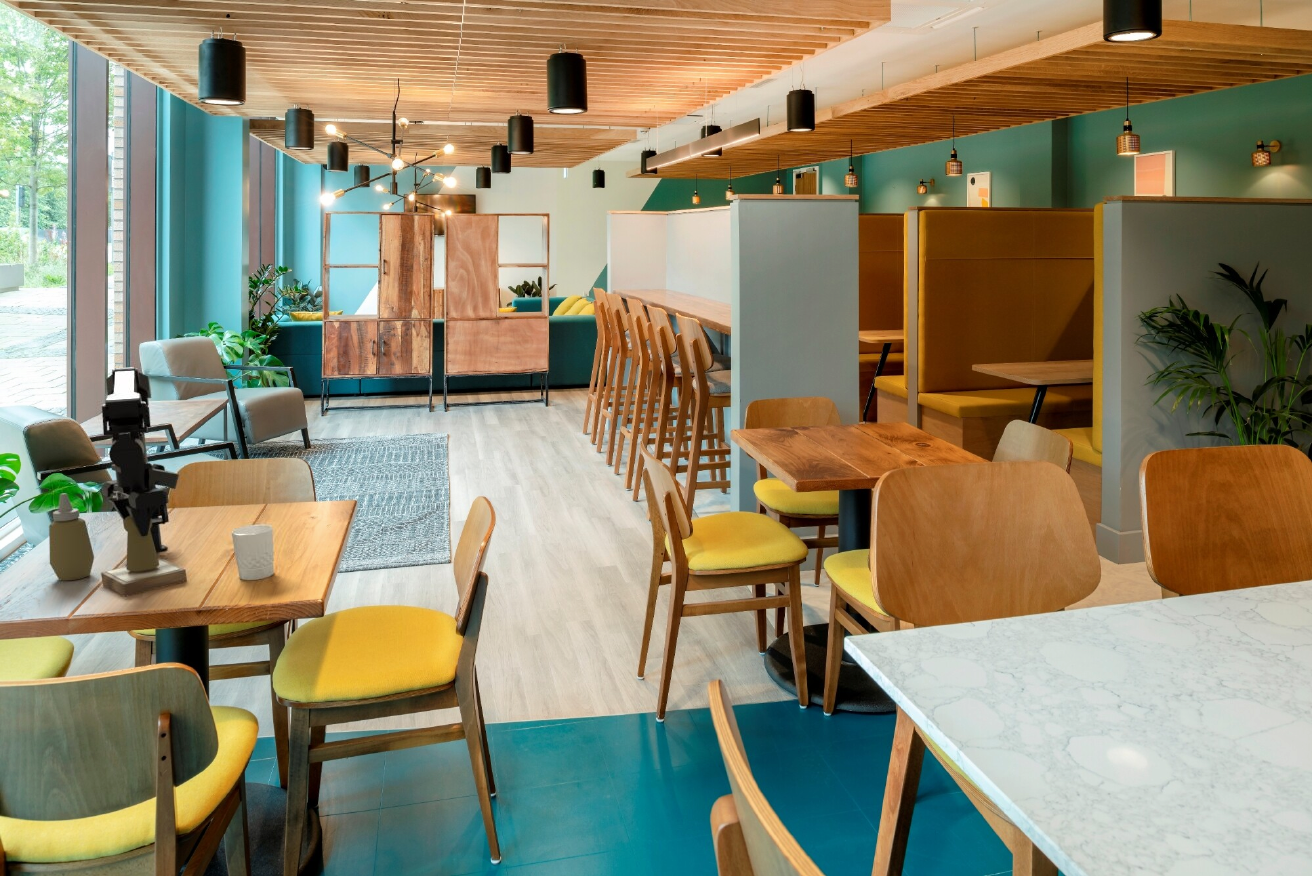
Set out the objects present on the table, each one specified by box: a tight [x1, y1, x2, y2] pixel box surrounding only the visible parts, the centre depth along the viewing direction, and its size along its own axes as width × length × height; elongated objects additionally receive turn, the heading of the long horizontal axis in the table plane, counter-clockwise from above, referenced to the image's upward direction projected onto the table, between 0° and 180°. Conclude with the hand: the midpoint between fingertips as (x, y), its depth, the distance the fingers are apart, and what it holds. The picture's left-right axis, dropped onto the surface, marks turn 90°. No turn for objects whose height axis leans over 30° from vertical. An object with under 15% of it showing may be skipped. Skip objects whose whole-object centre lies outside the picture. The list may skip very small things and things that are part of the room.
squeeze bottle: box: [48, 493, 95, 581], centre depth 203 cm, size 8×8×18 cm
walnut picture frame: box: [100, 558, 188, 597], centre depth 200 cm, size 12×12×3 cm
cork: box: [123, 516, 159, 571], centre depth 199 cm, size 6×6×11 cm
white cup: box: [231, 524, 275, 581], centre depth 202 cm, size 8×8×10 cm
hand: (139, 533), depth 198 cm, fingers closed on cork, 5 cm apart
